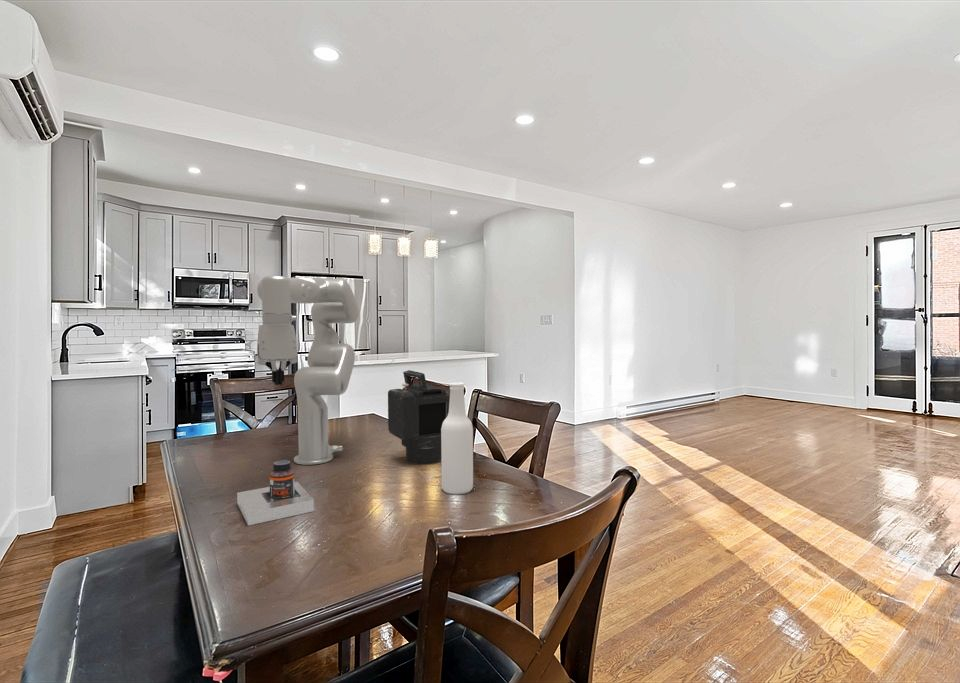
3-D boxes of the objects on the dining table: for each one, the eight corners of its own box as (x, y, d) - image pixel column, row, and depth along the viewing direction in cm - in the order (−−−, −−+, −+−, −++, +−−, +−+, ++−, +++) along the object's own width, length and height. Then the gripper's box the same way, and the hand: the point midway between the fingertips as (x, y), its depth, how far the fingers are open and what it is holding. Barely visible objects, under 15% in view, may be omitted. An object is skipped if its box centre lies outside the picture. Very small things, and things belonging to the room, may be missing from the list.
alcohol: (435, 490, 137) (434, 383, 135) (455, 482, 144) (455, 380, 142) (459, 497, 131) (458, 385, 130) (479, 488, 138) (479, 382, 137)
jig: (297, 492, 136) (297, 481, 135) (313, 511, 122) (313, 499, 122) (237, 504, 127) (237, 492, 127) (248, 525, 114) (247, 513, 114)
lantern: (454, 460, 165) (453, 371, 164) (405, 469, 156) (404, 375, 154) (434, 450, 178) (433, 367, 176) (387, 458, 168) (386, 370, 167)
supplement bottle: (271, 512, 122) (269, 467, 121) (269, 504, 127) (267, 460, 127) (296, 507, 125) (295, 463, 124) (293, 499, 130) (292, 457, 129)
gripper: (300, 319, 147) (301, 381, 147) (245, 320, 138) (247, 385, 139) (307, 320, 140) (308, 384, 141) (250, 320, 132) (252, 388, 133)
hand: (278, 384), depth 140 cm, fingers closed
